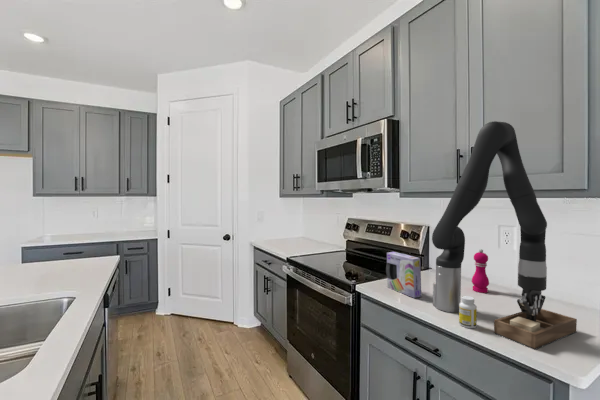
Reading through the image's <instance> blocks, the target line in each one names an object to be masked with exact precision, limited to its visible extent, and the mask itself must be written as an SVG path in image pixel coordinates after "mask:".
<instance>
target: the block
mask: <svg viewBox="0 0 600 400" xmlns="http://www.w3.org/2000/svg"><path fill="white" fill-rule="evenodd" d="M510 325H513V326H516V327H519V328H521V329H524V330H527V331H530V332H533V333H534V332H537V331H539V330H540V323H538V322H535V321H532V320H529V319H525V318H522V317H516V318H514V319H512V320H510Z"/></svg>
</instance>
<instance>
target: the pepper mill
mask: <svg viewBox="0 0 600 400" xmlns="http://www.w3.org/2000/svg"><path fill="white" fill-rule="evenodd" d="M473 260H474V261H475V262H474V266H475V272H474V274H473V275H472V278H471V283H472V291H473V292H476V293H481V294H488V293H489V291H488V290H489V289H488V286H489V285H490V280H489V277H488V276H487V271H486V268H487V266H488V265H487V264H488V261H489V256H488V255H487V254H486V253H485V252H484V249H481V248H480V249H479V250H478V252H476V253H474V255H473Z"/></svg>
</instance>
